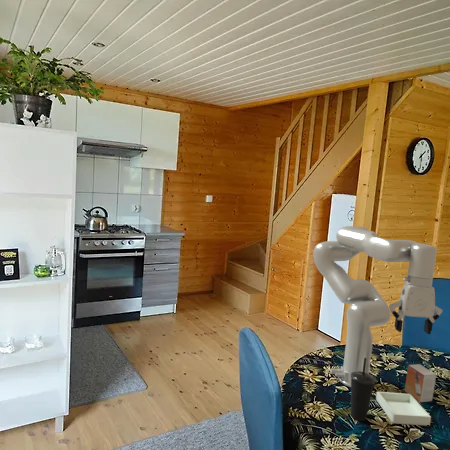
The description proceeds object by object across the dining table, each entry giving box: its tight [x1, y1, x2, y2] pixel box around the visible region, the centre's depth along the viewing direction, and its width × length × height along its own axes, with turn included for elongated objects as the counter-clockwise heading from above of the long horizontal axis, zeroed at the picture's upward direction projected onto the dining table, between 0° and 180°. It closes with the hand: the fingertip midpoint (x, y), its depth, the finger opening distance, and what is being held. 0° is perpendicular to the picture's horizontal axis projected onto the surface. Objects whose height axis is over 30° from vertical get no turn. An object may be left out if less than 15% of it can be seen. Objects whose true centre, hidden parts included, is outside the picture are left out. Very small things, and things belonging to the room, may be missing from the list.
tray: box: [375, 391, 432, 427], centre depth 135 cm, size 12×14×3 cm
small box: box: [404, 363, 437, 403], centre depth 146 cm, size 8×6×10 cm
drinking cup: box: [350, 358, 376, 422], centre depth 129 cm, size 8×8×20 cm
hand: (412, 331), depth 132 cm, fingers open, 9 cm apart
